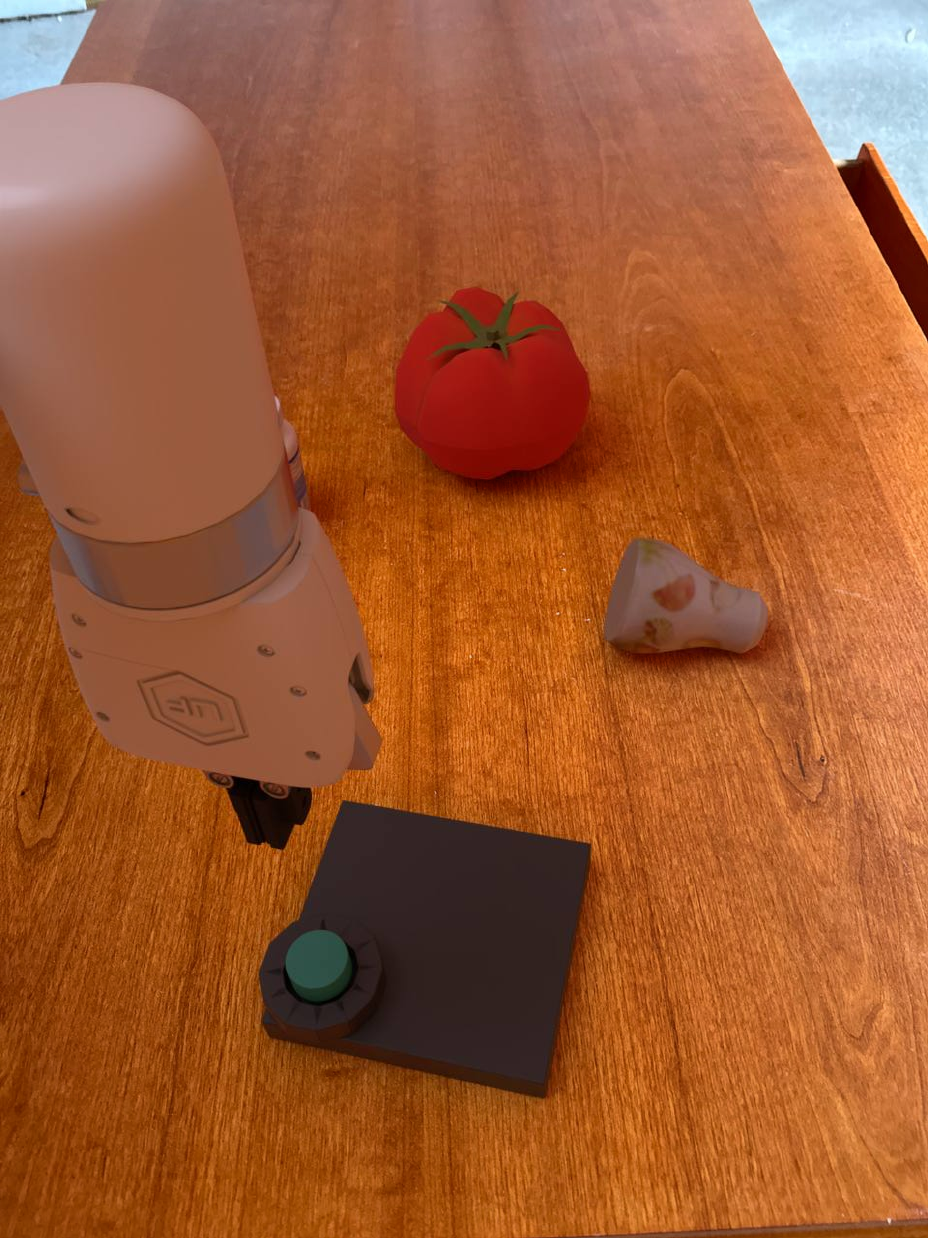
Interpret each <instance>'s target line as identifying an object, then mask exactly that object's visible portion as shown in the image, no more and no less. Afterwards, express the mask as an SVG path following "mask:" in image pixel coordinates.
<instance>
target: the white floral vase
mask: <svg viewBox="0 0 928 1238" xmlns="http://www.w3.org/2000/svg"><path fill="white" fill-rule="evenodd" d="M611 587H612V588H611V591H610V595H609V598H608V602H607V609H606V614H605V620H604V627H603V636H604V640H605V641H606V643H609V644H611V645H613V646H614V647H616V648H618V649H619V650H620V649H621V650H622V651H626V652H630V653H635V654H657V653H666V652H673V651H679V650H685V649H695V648H702V647H703V648H713V649H718V650H719V649H720V650H725V651H729V652H734V653H737V654H744V653H746V652H747V651H749V650H752V649H753V648H755V647H756V646H758V644H759V643H760V641H761V640H762V639H763V638H762V637H763V636H764V635H765V631H766V628H767V625H768V620H769V619H768V618H769V608H768V606H767V604H766V603H767V602H765V600H764V599H763V598H762V596H761V594H760V593H759V592H757V591H756V590H752V589H749V588H745V587H741V586H738V585H735V584H732V583H729V582H727V581H724V580H723V579H721V578H719V577H718V576H716V575H715V574H713V573H712V572H710V571H709V569H707V568H705V567H704V566H703V565H701V564H700V563H698V562H697V561H696V560H694V559H693V558H692V557H690V556H689V555H688V554H687V553H685V552H683V551H682V550H680V548H677V547H676V546H674V545H672V544H670V543H668V542H665V541H663V540H660V539H655V538H649V537H648V538H647V537H646V538H645V537H637V538H633V539H632V540H631V541H630V542H629V544H627V547H626V549H625V551H624V553H623V555H622V558H621V560H620V563H619V565H618V567H617V570H616V574H615V577H614V580H613V584H612V586H611Z"/></svg>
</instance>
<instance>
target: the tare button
mask: <svg viewBox="0 0 928 1238" xmlns="http://www.w3.org/2000/svg"><path fill="white" fill-rule="evenodd" d="M286 970H287V973H288V976H289V978H290V981H291V983H292V986H293V988H294V989H295V991H296V992H297V993H298V994H299V995H300V996H301V997H303V998H304V999H307V1000H309V1001H314V1002H322V1001H327V1000H330V999H332V998H334V997H336V996H337V995H339V994H340V993H341V992H342V991H343V990H344V989H345V988H346V986H347V985H348V983H349V981H350V979H351V975H352V964H351V960H350V957H349V953H348V950H347V947H346V945H345V943H344V941H343V940H342V939H341V938H340V937H339V936H338V935H336V934H335V933H333V932H330V931H327V930H314V931H310V932H307V933H305V934H303V935H302V936H300V937H299V938H297V939H296V940H295V941H294V942H293V944H292V945H291V947H290V948H289V950H288V953H287V956H286Z"/></svg>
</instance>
